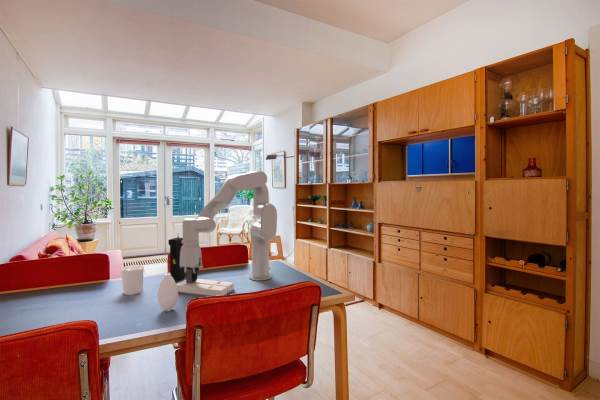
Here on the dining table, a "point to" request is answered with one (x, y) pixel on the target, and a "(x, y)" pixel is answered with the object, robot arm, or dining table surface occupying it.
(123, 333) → the dining table surface
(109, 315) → the dining table surface
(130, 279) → the candle holder
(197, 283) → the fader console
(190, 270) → the fader tab
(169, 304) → the sauce bottle
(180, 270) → the portable radio
